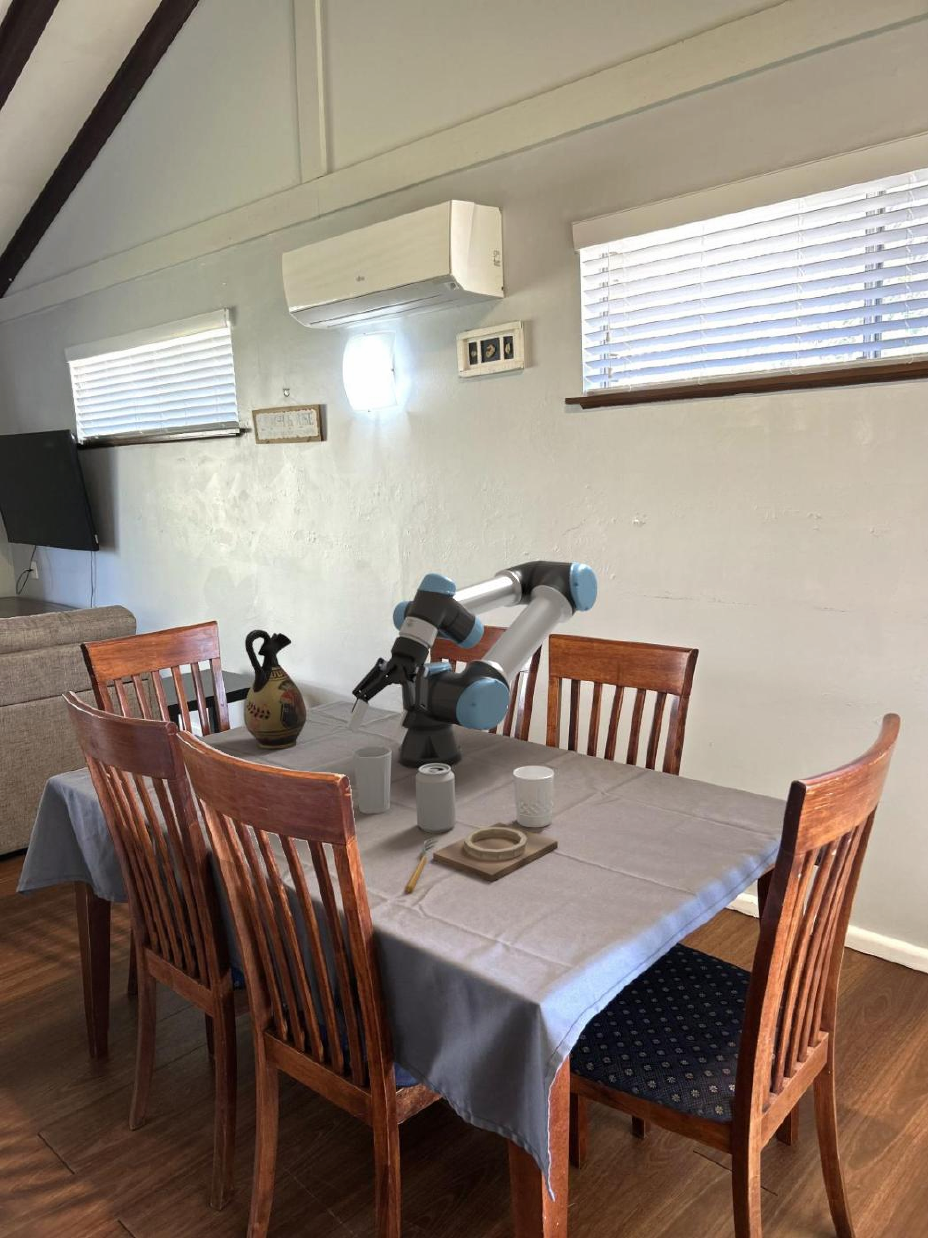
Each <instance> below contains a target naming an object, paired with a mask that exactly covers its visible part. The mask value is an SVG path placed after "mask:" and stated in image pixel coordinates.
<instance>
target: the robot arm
mask: <svg viewBox="0 0 928 1238" xmlns="http://www.w3.org/2000/svg"><path fill="white" fill-rule="evenodd" d="M597 596H598V581H597V577H596V574H595V572H594V570H593V569H592V568H591V566H589V565H588V564H586V563H580V562H577V561H576V562H575V561H574V562H566V561H565V562H564V561H552V560H551V561H549V560H533V561H528V562H523V563H520V564H517V565H515V566H511V567H509V568H504V569H502V570H499V571H498V572H496V573H495V574H494V576H493V577H490V578H487V579H484V580H481V581H477V582H475V583H472V584H469V585H465V586H463V587H460V588H458V587H457V585H456V582H454V581H453V580H452V579H450V578H449V577H447V576H445V575H442V574H439V573H434V572H433V573H432V572H430V573H427V574H426V575H425V576H424V577H423V579H422V581H421V582H420V584H419V586H418V588H417V590H416V593H415V595H414V597H413V600H403V601H400V602H399V603H398V604H397V605H396V606H395V608H394V609H393V613H392V622H393V623H392V624H393V626H394V627H395V629H396V630H397V631H399V632H398V635H399V636H397V637H396V638H395V640H394V642H393V644H392V647H391V649H390V653H391V654H390V655H391V657H390V659H389V660H386V659H384V658H383V657H381V656H380V657H379V658H378V659H377V661H376V662H375V663H374V664H375V665H374V666H373V667H372V668H371V670H370V671H369V672H367V674H366V675H365V676H364V677H363V678H362V679H361V680H360V682H358V684H357V685H356V686H355V688H354V689H353V690H351V691H352V692H351V694H352V695H353V696H354V697H355V698H356V700H355V702H354V704H353V707H352V709H351V715H350V717H349V719H348V721H347V723H346V726H345V728H346V729H348V730H350V731H351V732H353V733H355V734H357V732H358V731H359V729H360V725H361V724H362V722H363V719H364V716H365V715H366V713H367V710H368V708H369V706H370V704H369V701H370V700H372V699H373V698H374V697H375V696H377V695H378V694H379V693H381V692H382V691H383V690H384V689H385V688H387V687H388V686H391V685H393V684H394V685H400V686H401V694H402V695H401V696H402V711H401V714H400V715H399V718H398V720H397V723H396V725H395V727H394V730H393V732H392V734H391V736H390V740H391V741H392V742H394V743H396V744H397V745H400V746H399V747H398V749H397V761H398V763H399V764H400V765H401V766H403V767H405V768H409V769H413V770H419V768H420V767H421V766H423V765H426V764H432V763H440V764H446V765H448V766H450V767H451V766H454V765H457V764H458V763H460V761H462V758H463V757H462V755H463V754H462V747H461V746H460V744H459V740H458V737H457V734H456V731H455V728H454V725H455V726H458V727H462V728H463V727H464V728H466V729H468V730H475V731H477V730H478V731H489V730H492V729H494V728H495V727H497V726H498V725H500V724H501V723H502V721H503V720H504V719H505V717H506V716H507V714H508V712H509V709H508V706H510V703H511V696H510V695H511V694H510V693H511V685H510V684H511V683H512V682H513V680H514V679H515V678H516V677H517V675H518V674H519V673H520V671H522V669H523V668H524V667H525V666H526V665H527V663H528V662H529V661H530V659H531V658H532V657H533V656H534V654H535V653H536V652H537V650H539V648H540V647H541V646H542V644H543V643H544V642H545V641H546V639H548V637H549V636H550V634H551V633H552V632H553V631H554V630H555V628H556V627H557V626H558V625H559V624H565V623H567V622H569V621H570V620H571V618H573V616H574V615H575V614H576V613H577V612H578V611H579V612H581V613H584V612H587V611H588V612H589V610H591V609H592V608H593V606H594V605H595V603H596V600H597ZM521 605H523V606H524V605H525V606H526V607H525V608H524V609H523V610H522V611H521V612H520V614H518V616H517V617H516V618H515V619H514V621H513V622H512V623H511V624H510V625H509V627H507V629H505V630H504V631H505V632H503V634H502V635H501V636H500V637H499V638H498V639H497V641H496V642H495V643H494V644H493V645H492V646H491V647H490V648H489V650H488V651H487V652H486V653H485V654H484V655H483V657H482V658H481V659H474V660H472V661H470V662H469V663H468V664H467V666H466V667H465V668H464V669H463V670H462V671H461V672H456V671H455V672H453V667H452V665H451V663H450V662H448V661H447V662H446V661H437V662H434V661H433V662H427V663H426V661H427V658H428V656H429V654H430V650H429V649H432V647H433V645H434V643H435V640H436V639H442V640H447V641H452V642H453V643H454V644H455V645H456V646H459V648H461V649H470V648H471V649H472V648H473V647H475V646H476V645H477V644H478V643H480V641H481V639H482V637H483V635H484V633H485V632H484V631H485V627H484V624H483V622H482V621H481V620H480V619H479V617H477V616H478V615H481V614H485V613H486V612H490V611H492V610H495V609H498V608H501V607H505V608H512V607H515V606H521Z"/></svg>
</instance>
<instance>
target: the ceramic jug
mask: <svg viewBox="0 0 928 1238" xmlns="http://www.w3.org/2000/svg"><path fill="white" fill-rule="evenodd" d="M259 638H261V639H263V643H262V644H261V645H260V648H259V651H258V652H257V655H258V656H261V657H263V661H262V666H261V664H260V662H259V660H258V658H257V655H256V652H255V649H254V641H256V640H258V639H259ZM290 644H292V640H291V639H290V638H289V637H288V636H286V635H285V634H283V633H280V632H279V633H278V634H277V633H276V632H274V633H273V634H272V636H271V635H270V634H269V632H267V631H266V630H263V629H254V630H252V631H251V630H250V632H248V634H247V635H246V636H245V639H244V647H245V651H246V653H247V656H248V659H249V661H250V663H251V667H252V668H253V671H254V680H253V683H252V684H251V686H250V689H249V690H248V693H247V696H246V699H245V704H244V710H243V711H244V713H243V715H244V717H243V718H244V724H245V727H246V729H247V731H248V732H249V733H250V735H252V736H253V737H254V739H255V740H256V741H257V742H258V745H259V747H261V748H262V749H285V748H289V747H295V746H296V745H297V744H296V743H298V742H297V739H298V738H299V736H300V734H301V732H302V731H303V728H304V727H305V724H306V721H307V707H306V704H305V701H304V698H303V695H302V692H301V691H300V689H299V687H298V686H297V685H296V683H295V681H294V680H293V679H292V678H291V677H290V675H289V674H288V673H287V671H285V669H284V668H283V667H282V665H281V664H280V663H279V659H278V656H277V654H278V653H280V651H281V650H283V649H285V648H286V647H288V646H290ZM261 748H260V749H261Z"/></svg>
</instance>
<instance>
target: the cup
mask: <svg viewBox="0 0 928 1238" xmlns="http://www.w3.org/2000/svg"><path fill="white" fill-rule="evenodd" d="M351 753H352V761H353V769H354V776H355V784H356V792H357V798H358V809H359V812H361V811H362V813H364V814H369V813H375V814H379V813H378V812H382V813H384V812H383V811H385V812H387V811H389V809H390V808H391V804H390V803H391V801H390V799H391V776H392V775H391V770H392V769H391V768H392V749H391V748H390V747H388V746H382V745H370V746H369V745H367V746H362V747H359V748H356V749H354V750H353V751H352V752H351Z"/></svg>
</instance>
